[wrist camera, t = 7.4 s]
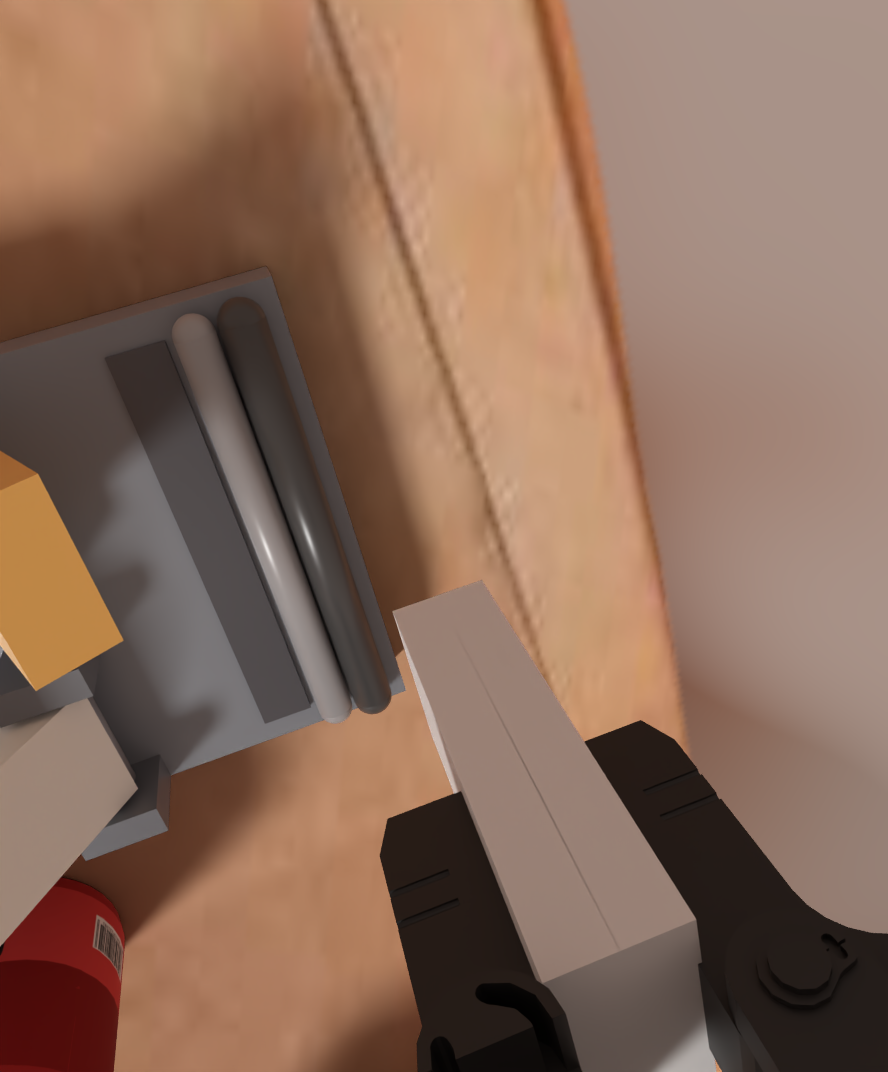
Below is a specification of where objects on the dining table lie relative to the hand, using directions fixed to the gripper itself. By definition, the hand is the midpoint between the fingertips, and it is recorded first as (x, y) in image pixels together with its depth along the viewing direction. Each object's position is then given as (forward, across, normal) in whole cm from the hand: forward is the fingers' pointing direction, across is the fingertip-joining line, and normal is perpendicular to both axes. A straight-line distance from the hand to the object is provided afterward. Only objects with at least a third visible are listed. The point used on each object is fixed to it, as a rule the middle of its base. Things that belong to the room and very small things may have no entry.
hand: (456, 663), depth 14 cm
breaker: (+17, +12, +10) cm, 23 cm away
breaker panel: (+21, +12, +5) cm, 25 cm away
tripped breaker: (+17, +12, 0) cm, 21 cm away
